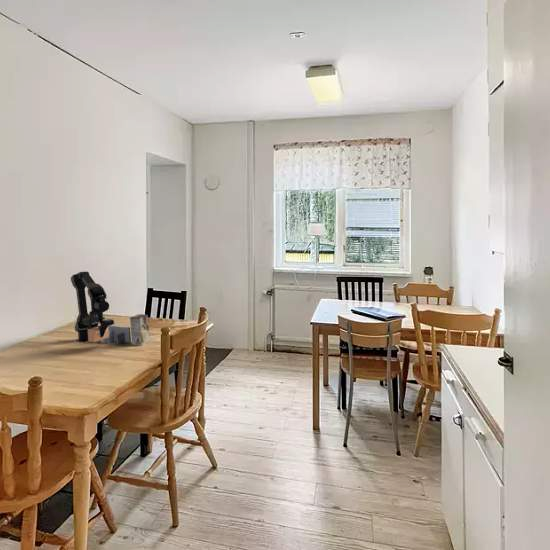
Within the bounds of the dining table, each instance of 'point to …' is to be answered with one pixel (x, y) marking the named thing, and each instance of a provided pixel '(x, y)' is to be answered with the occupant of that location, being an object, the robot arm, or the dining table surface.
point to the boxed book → (96, 334)
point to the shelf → (116, 330)
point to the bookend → (121, 339)
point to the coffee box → (139, 329)
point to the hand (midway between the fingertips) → (98, 336)
